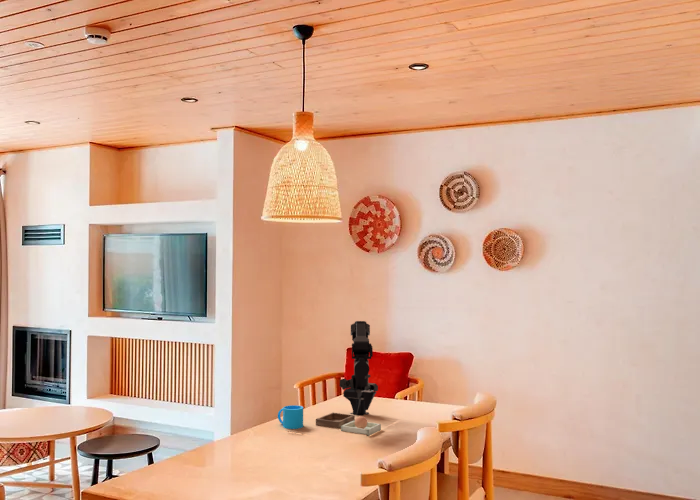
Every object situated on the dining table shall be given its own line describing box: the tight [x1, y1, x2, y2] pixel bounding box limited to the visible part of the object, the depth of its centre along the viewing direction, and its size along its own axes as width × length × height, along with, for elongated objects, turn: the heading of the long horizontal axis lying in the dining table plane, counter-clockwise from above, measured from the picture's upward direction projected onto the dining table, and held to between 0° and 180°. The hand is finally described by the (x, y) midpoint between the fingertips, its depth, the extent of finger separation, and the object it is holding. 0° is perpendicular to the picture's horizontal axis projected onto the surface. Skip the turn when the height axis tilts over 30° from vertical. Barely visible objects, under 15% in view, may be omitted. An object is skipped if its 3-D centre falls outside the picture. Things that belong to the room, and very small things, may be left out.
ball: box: [355, 415, 368, 429], centre depth 243 cm, size 5×5×5 cm
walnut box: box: [315, 412, 356, 429], centre depth 253 cm, size 14×11×3 cm
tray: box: [340, 420, 382, 437], centre depth 243 cm, size 11×12×2 cm
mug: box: [277, 404, 304, 430], centre depth 249 cm, size 12×8×8 cm
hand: (361, 412), depth 243 cm, fingers open, 9 cm apart
